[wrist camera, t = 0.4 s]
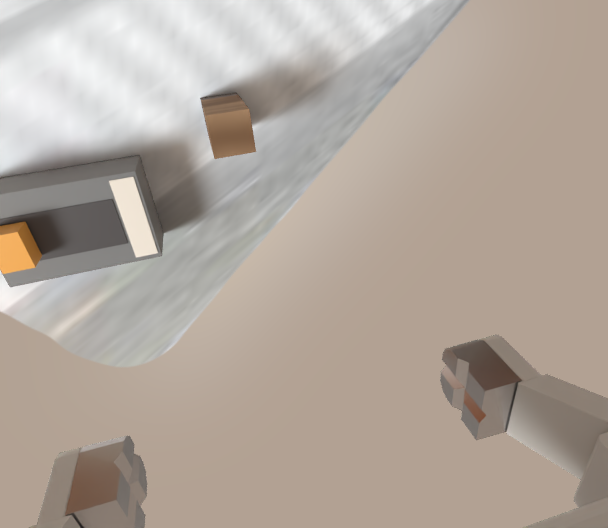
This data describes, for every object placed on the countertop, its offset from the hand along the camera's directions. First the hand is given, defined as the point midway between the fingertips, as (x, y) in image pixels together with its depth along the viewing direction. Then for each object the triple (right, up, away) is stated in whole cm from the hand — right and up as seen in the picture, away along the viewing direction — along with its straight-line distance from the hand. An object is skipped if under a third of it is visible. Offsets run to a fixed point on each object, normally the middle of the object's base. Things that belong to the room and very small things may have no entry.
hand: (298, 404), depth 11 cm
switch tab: (-29, +6, +32) cm, 44 cm away
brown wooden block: (-9, +21, +37) cm, 43 cm away
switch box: (-26, +10, +38) cm, 47 cm away
